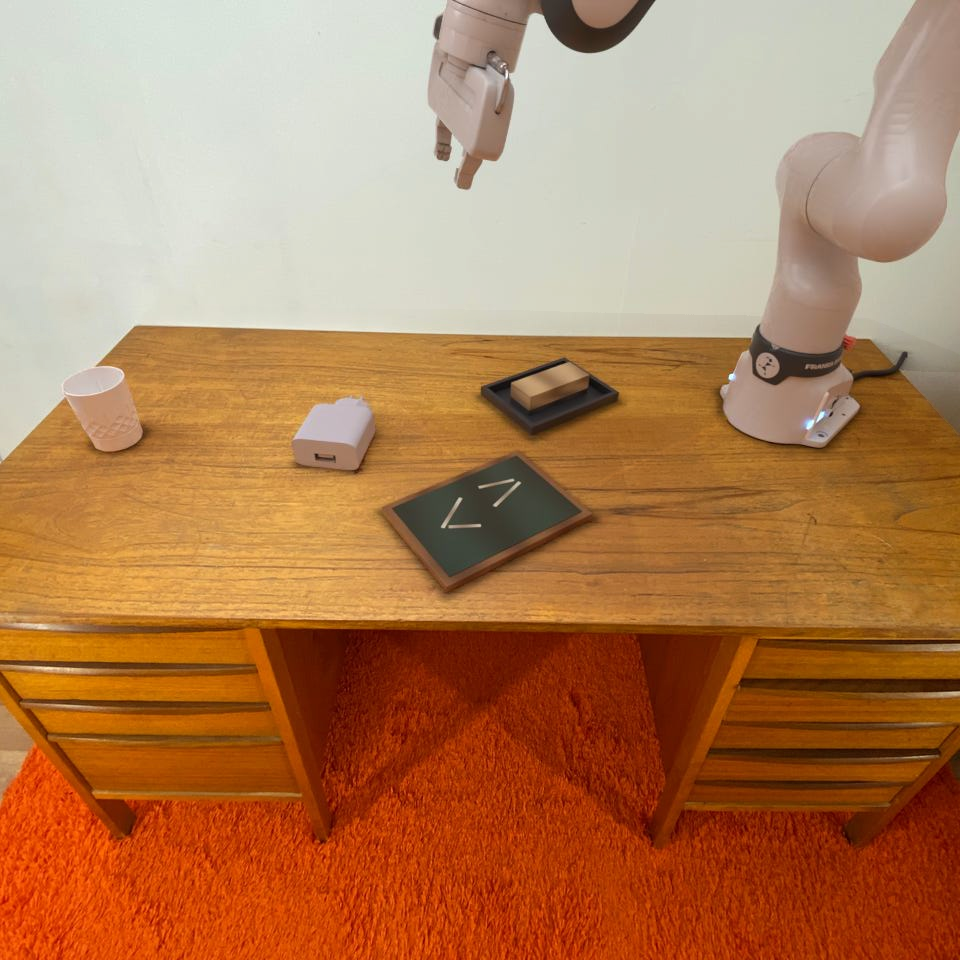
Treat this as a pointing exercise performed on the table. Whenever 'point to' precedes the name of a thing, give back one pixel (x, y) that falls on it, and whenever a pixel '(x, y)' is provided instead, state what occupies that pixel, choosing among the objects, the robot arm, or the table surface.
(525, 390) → the eraser
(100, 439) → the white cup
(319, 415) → the charger
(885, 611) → the table surface
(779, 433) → the robot arm
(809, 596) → the table surface
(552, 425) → the tray
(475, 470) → the board
